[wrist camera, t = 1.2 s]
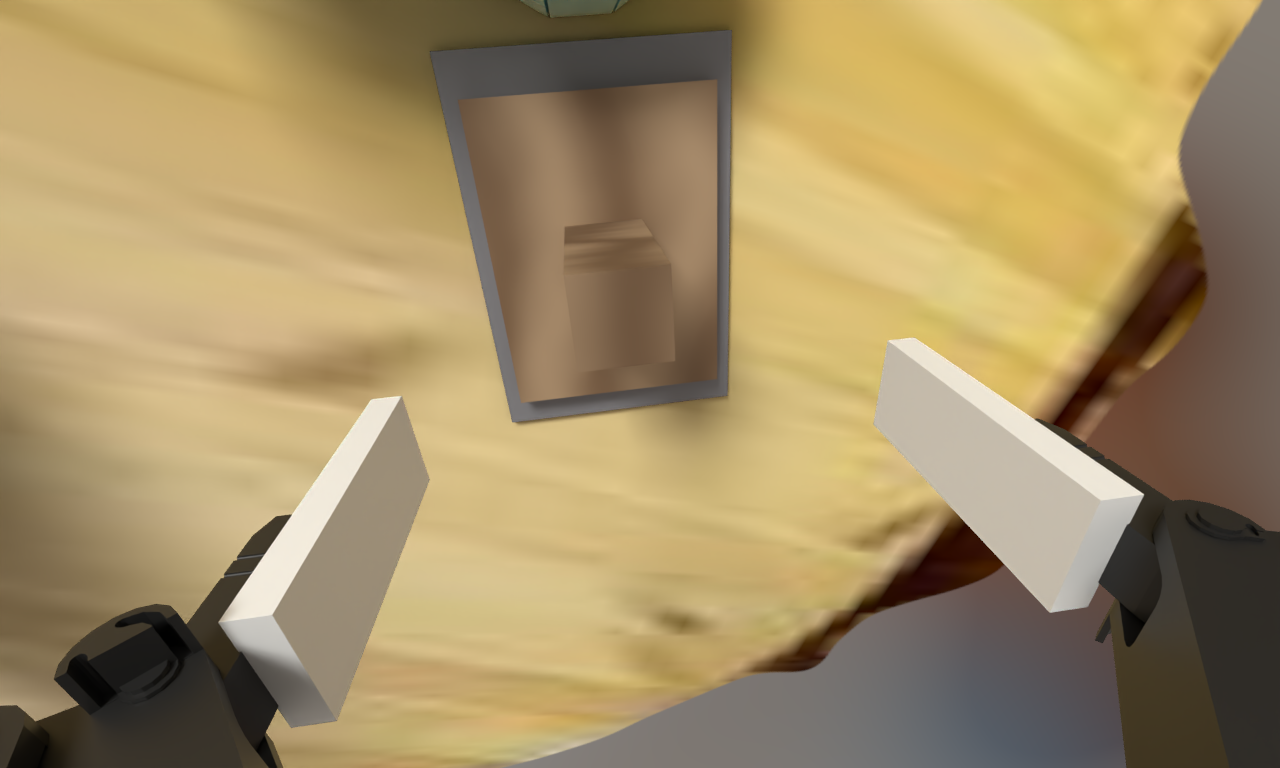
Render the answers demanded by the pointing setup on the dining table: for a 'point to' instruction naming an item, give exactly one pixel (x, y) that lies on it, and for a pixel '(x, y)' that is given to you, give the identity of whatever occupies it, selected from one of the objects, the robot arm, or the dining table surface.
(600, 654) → the dining table surface
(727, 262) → the charcoal mat
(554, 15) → the teal bowl
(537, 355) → the walnut lid
